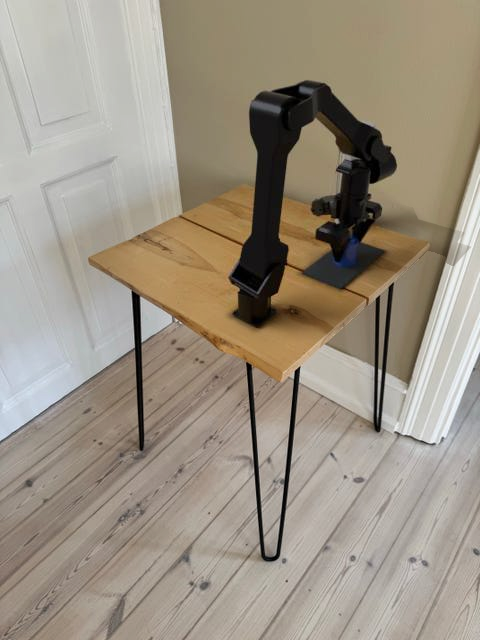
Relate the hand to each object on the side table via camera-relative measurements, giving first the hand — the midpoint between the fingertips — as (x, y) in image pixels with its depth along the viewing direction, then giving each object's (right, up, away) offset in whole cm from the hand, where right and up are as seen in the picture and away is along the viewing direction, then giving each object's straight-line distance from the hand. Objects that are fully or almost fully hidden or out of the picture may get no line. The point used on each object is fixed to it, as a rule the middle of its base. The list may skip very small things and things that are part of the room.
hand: (345, 255), depth 106 cm
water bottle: (+3, +10, +16) cm, 20 cm away
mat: (0, -1, +1) cm, 2 cm away
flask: (0, -1, +1) cm, 1 cm away
